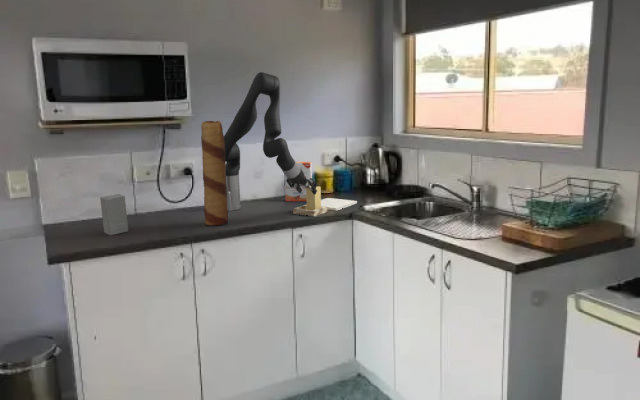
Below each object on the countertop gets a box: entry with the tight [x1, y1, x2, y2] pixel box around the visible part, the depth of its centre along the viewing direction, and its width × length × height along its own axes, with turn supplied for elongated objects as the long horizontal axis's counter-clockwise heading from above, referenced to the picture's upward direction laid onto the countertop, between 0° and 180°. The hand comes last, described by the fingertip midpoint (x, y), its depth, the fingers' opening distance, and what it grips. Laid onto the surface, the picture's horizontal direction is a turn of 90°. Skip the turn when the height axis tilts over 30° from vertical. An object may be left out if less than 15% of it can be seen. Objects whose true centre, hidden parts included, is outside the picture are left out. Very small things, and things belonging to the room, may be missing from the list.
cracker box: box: [284, 161, 313, 203], centre depth 274 cm, size 14×6×21 cm, turn 84°
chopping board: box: [321, 197, 358, 211], centre depth 263 cm, size 20×18×1 cm
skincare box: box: [99, 193, 129, 236], centre depth 215 cm, size 8×7×16 cm
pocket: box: [292, 203, 328, 217], centre depth 246 cm, size 12×12×2 cm
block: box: [306, 186, 322, 210], centre depth 248 cm, size 5×5×12 cm
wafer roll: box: [200, 120, 229, 226], centre depth 225 cm, size 10×11×45 cm
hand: (308, 192), depth 243 cm, fingers open, 8 cm apart
